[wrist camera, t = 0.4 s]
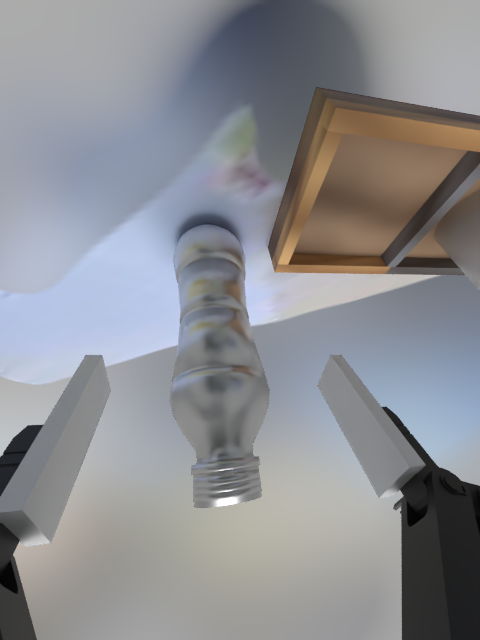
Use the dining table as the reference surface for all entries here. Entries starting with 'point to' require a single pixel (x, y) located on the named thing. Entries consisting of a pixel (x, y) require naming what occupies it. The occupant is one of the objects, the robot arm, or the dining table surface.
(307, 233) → the tray
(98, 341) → the dining table surface
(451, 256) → the bottle
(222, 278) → the plastic bottle
